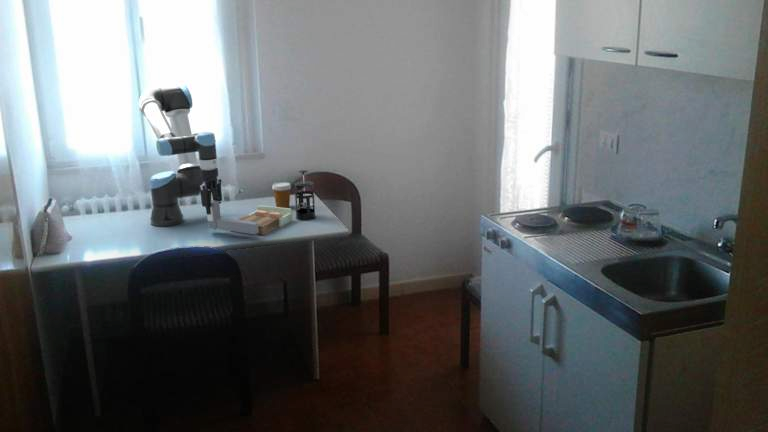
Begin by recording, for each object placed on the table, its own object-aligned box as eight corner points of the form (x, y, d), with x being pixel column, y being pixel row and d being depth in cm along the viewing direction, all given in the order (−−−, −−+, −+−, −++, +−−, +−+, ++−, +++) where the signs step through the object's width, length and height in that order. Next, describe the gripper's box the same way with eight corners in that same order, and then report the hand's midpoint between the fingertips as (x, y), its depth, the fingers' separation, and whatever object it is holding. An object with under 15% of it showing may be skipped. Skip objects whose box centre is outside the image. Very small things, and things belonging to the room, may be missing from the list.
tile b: (268, 213, 329) (272, 211, 332) (269, 223, 331) (273, 222, 334) (278, 214, 328) (281, 212, 330) (279, 225, 329) (282, 223, 332)
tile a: (255, 211, 333) (258, 209, 335) (255, 221, 334) (259, 220, 337) (264, 212, 331) (267, 211, 333) (264, 223, 332) (268, 221, 335)
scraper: (208, 228, 320) (206, 202, 316) (213, 225, 323) (211, 200, 320) (254, 234, 311) (252, 208, 307) (259, 231, 314) (257, 205, 311)
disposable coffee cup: (291, 210, 354) (289, 186, 350) (271, 210, 354) (270, 187, 351) (293, 204, 363) (292, 181, 360) (274, 205, 363) (273, 182, 360)
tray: (248, 223, 335) (247, 210, 333) (259, 217, 344) (259, 205, 342) (281, 227, 328) (280, 214, 326) (292, 220, 337) (291, 208, 335)
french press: (319, 219, 339) (316, 171, 332) (300, 222, 335) (297, 174, 328) (310, 212, 349) (307, 166, 342) (291, 215, 345) (289, 169, 338)
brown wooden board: (231, 231, 324) (230, 222, 322) (247, 223, 335) (246, 214, 334) (263, 235, 317) (262, 226, 316) (278, 226, 328) (278, 218, 327)
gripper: (203, 173, 304) (209, 225, 311) (227, 164, 319) (232, 214, 326) (189, 171, 307) (195, 223, 314) (213, 163, 322) (218, 213, 329)
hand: (213, 219), depth 320 cm, fingers closed on scraper, 4 cm apart
